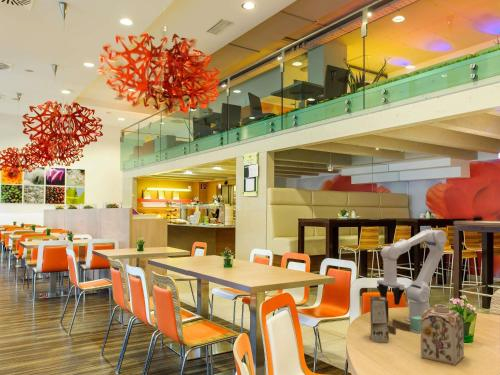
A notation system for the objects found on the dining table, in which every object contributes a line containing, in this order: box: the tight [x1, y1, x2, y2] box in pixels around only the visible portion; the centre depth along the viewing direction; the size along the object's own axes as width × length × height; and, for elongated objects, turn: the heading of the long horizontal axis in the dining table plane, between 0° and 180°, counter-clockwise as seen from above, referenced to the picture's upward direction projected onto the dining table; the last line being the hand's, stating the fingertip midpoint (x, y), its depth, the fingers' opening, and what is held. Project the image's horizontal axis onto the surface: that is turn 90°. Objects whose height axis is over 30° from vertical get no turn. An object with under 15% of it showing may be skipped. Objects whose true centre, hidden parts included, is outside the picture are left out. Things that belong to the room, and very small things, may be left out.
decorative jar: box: [420, 304, 465, 366], centre depth 151 cm, size 12×12×18 cm
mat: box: [409, 329, 421, 335], centre depth 184 cm, size 7×7×1 cm
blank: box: [409, 316, 421, 331], centre depth 184 cm, size 4×5×5 cm
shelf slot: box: [388, 318, 411, 335], centre depth 184 cm, size 10×9×3 cm
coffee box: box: [369, 296, 390, 344], centre depth 172 cm, size 9×6×16 cm
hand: (390, 302), depth 195 cm, fingers open, 7 cm apart
